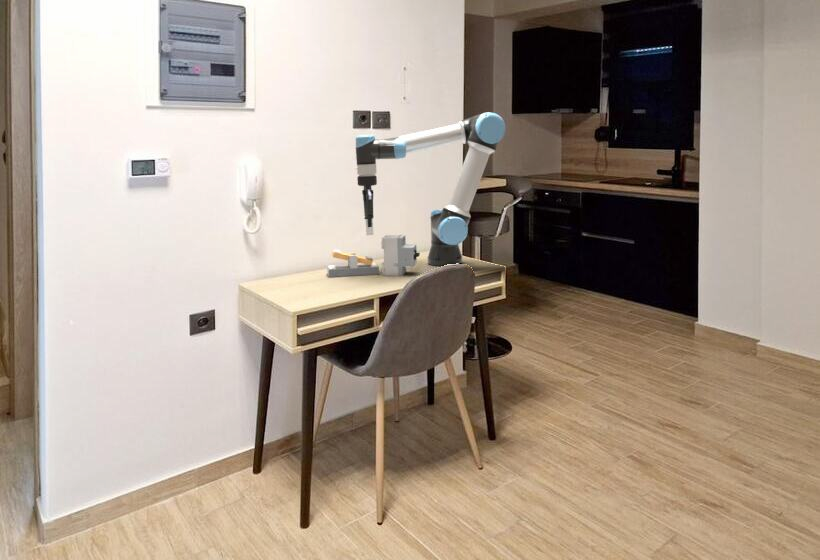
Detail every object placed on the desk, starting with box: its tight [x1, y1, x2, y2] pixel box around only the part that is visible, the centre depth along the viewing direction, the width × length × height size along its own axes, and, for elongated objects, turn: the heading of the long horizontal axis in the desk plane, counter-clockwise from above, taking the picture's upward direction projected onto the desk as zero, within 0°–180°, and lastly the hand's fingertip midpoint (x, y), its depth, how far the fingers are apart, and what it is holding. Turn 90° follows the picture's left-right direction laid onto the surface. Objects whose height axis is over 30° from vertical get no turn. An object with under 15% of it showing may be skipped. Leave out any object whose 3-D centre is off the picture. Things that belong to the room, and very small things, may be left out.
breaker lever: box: [331, 249, 374, 265], centre depth 259 cm, size 16×5×3 cm, turn 103°
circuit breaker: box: [380, 234, 421, 277], centre depth 257 cm, size 8×14×15 cm, turn 78°
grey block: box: [326, 252, 380, 278], centre depth 259 cm, size 20×7×8 cm, turn 101°
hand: (369, 234), depth 258 cm, fingers closed
